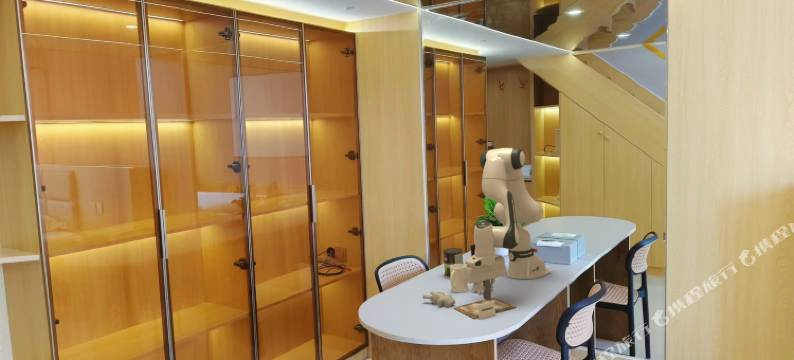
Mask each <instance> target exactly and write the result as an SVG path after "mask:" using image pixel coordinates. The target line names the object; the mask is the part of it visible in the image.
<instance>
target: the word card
mask: <svg viewBox="0 0 794 360" xmlns="http://www.w3.org/2000/svg"><path fill="white" fill-rule="evenodd" d="M478 311H479V318H478V319H479V320H482V319H486V318H490V317H493V316H495V315H496V313H495V301H491V302H487V303H483V304H479V305H478Z"/></svg>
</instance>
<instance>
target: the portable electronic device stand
mask: <svg viewBox="0 0 794 360" xmlns="http://www.w3.org/2000/svg"><path fill="white" fill-rule="evenodd" d="M493 291H494V287H493V288H491V293H492V292H493ZM476 292H477V295H481V290H480V286H479V285H478V283H477V282H476V283H473V286H472V290H471V293H472V294H475V293H476Z"/></svg>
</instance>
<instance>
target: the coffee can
mask: <svg viewBox="0 0 794 360" xmlns="http://www.w3.org/2000/svg"><path fill="white" fill-rule="evenodd" d="M442 252H443V263H444V277H445V278H446V279H449V280H450V277H451V274H450V266H451V265H454V264H464V256H463V255H464V254H463V252H464V250H463V248H459V247H449V248H445V249H443V251H442Z"/></svg>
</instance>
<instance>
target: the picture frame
mask: <svg viewBox="0 0 794 360" xmlns="http://www.w3.org/2000/svg"><path fill="white" fill-rule="evenodd" d="M491 301H495V314H499V313H502V312H503V313H504V312H505V311H510V310H512V309H516V308H517V306H515V305H514V304H511V303H508V302H506V301H504V300H502V299H499V298H496V297H491V299H482V300H481V299H480V300H478V301H475V302H470V303H467V304H463V305H458V306H455V307H453V310H455V311H457V312H459V313H461V314H463V315H465V316H466V317H469V318H471V319H472V320H476V319H479V311H478V305H479V304H483V303H487V302H491Z"/></svg>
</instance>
